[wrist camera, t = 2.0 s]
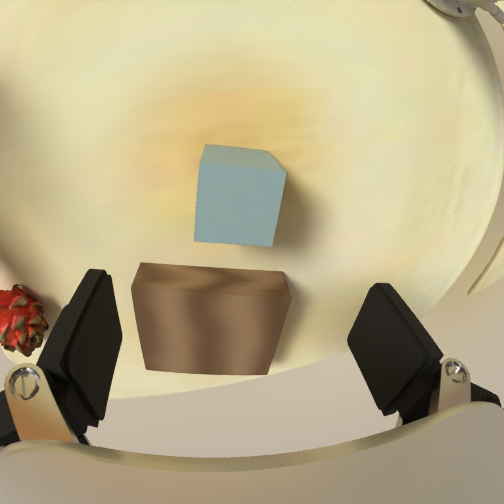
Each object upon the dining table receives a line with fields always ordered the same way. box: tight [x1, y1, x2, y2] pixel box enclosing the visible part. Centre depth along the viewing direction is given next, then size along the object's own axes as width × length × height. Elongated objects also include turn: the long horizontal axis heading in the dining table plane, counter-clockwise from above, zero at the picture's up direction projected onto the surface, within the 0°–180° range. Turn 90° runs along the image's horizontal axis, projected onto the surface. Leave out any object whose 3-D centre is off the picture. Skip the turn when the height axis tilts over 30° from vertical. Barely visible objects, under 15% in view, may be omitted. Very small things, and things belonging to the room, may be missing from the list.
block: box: [194, 144, 287, 247], centre depth 19 cm, size 5×5×7 cm
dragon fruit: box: [0, 284, 49, 357], centre depth 23 cm, size 8×8×12 cm
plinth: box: [131, 263, 292, 375], centre depth 28 cm, size 14×12×4 cm
